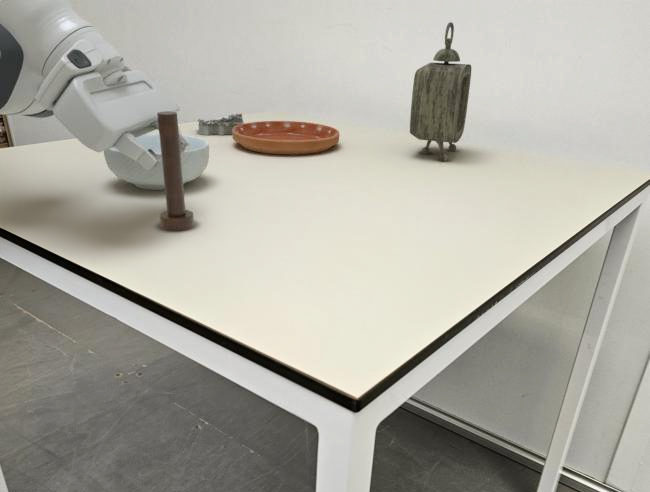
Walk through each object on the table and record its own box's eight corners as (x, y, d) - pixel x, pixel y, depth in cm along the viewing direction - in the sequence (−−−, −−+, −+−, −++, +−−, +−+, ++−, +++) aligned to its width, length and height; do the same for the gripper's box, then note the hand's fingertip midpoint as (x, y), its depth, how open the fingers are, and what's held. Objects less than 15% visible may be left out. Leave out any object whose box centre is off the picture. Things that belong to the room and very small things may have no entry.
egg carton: (244, 131, 146) (244, 113, 144) (243, 137, 139) (243, 118, 137) (199, 130, 145) (198, 112, 143) (196, 136, 138) (195, 117, 136)
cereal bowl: (205, 199, 94) (202, 153, 91) (97, 199, 93) (89, 152, 90) (215, 172, 109) (213, 132, 106) (122, 172, 108) (116, 131, 105)
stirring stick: (169, 235, 79) (157, 116, 72) (156, 226, 82) (143, 111, 75) (200, 229, 82) (191, 114, 75) (185, 221, 85) (176, 109, 78)
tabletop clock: (450, 165, 119) (467, 23, 107) (405, 160, 121) (417, 22, 110) (461, 151, 131) (477, 22, 119) (420, 147, 133) (432, 21, 122)
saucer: (326, 135, 143) (326, 119, 141) (350, 157, 123) (351, 138, 121) (228, 137, 138) (228, 120, 136) (237, 160, 118) (236, 140, 117)
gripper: (116, 82, 85) (187, 156, 88) (25, 101, 67) (118, 194, 70) (141, 48, 82) (214, 126, 85) (53, 59, 64) (149, 157, 67)
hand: (170, 157), depth 78 cm, fingers open, 8 cm apart
